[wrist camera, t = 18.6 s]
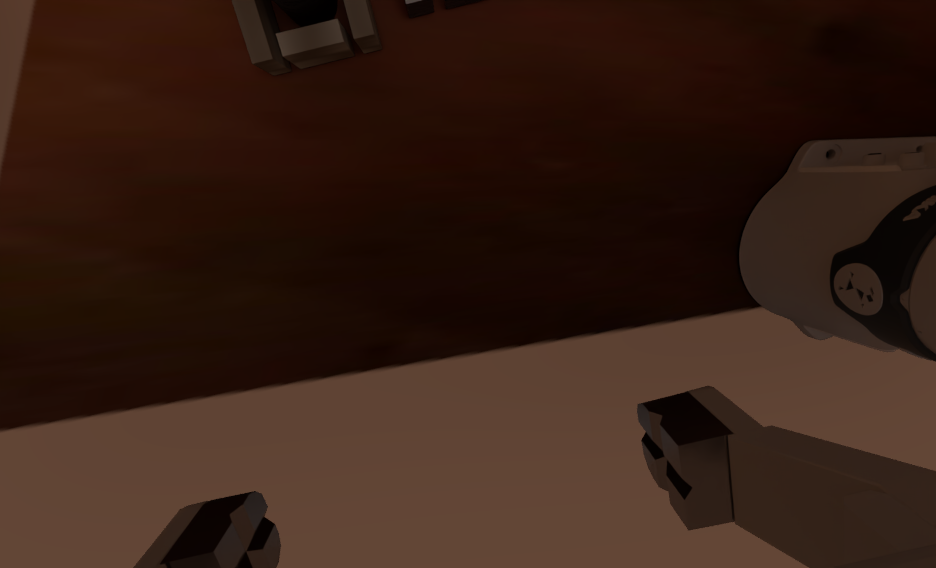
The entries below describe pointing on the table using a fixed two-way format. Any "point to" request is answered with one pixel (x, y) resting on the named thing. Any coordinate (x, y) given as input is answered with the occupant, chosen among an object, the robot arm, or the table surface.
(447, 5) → the socket
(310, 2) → the dark rounded handle
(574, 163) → the table surface
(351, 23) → the rack
